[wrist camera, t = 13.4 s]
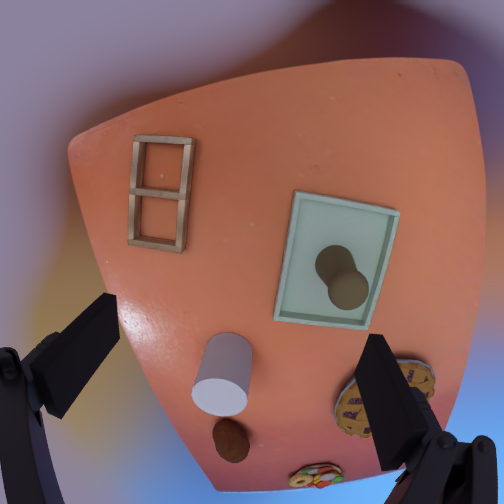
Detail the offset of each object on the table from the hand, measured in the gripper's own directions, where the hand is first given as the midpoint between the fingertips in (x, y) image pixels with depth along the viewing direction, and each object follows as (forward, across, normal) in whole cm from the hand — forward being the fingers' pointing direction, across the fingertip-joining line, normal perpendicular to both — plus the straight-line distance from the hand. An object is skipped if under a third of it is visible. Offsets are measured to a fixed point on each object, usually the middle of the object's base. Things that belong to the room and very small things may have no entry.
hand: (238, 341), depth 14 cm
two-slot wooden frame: (+31, -15, +2) cm, 34 cm away
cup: (+31, -2, -24) cm, 39 cm away
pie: (+31, +30, -31) cm, 53 cm away
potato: (+31, +1, -47) cm, 56 cm away
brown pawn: (+30, +12, -5) cm, 33 cm away
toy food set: (+31, +25, -64) cm, 75 cm away
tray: (+31, +12, -5) cm, 33 cm away
